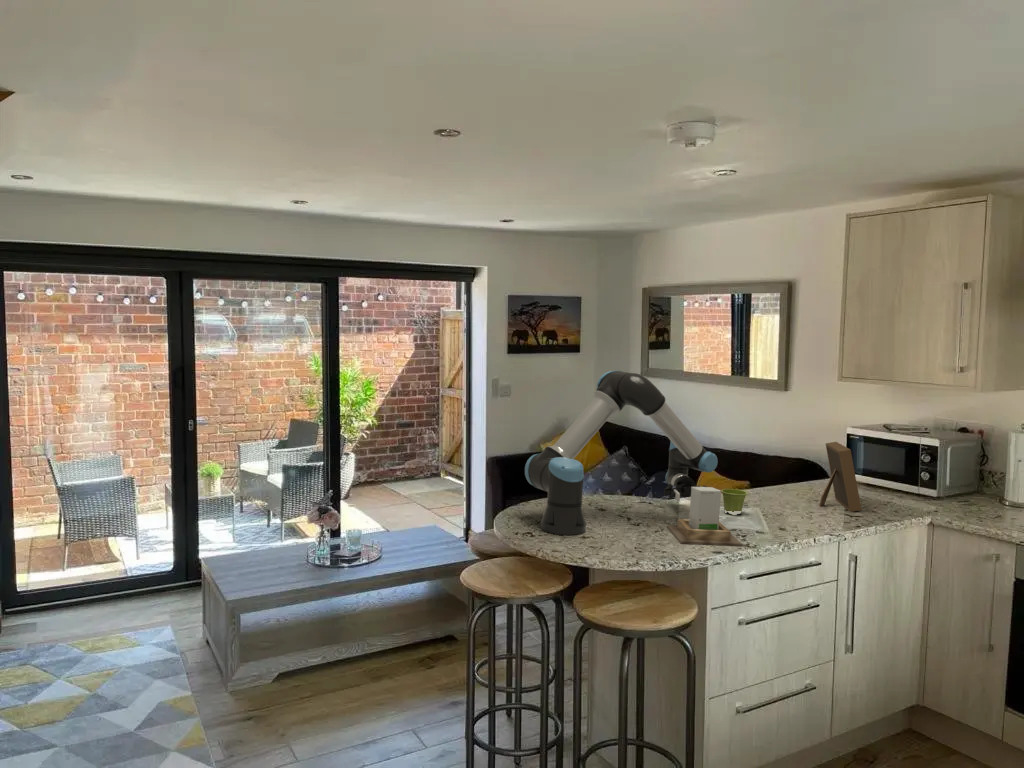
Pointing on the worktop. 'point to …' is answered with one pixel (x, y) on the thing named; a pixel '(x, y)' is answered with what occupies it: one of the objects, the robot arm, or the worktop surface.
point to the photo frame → (842, 477)
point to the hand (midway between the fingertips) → (698, 498)
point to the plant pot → (733, 499)
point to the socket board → (702, 535)
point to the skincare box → (704, 508)
